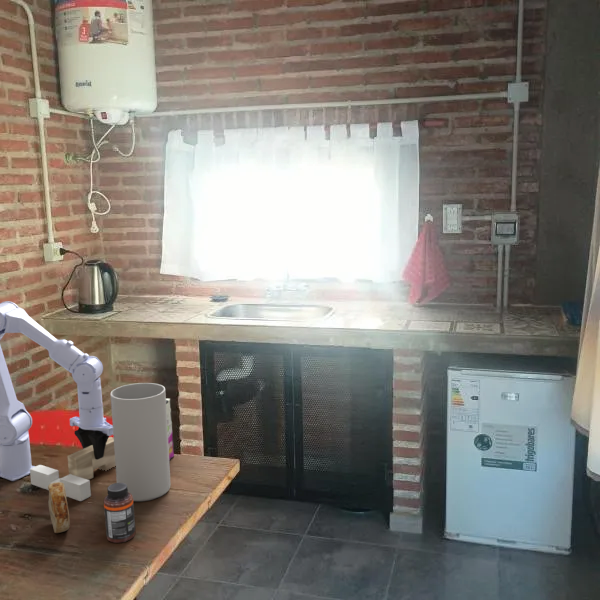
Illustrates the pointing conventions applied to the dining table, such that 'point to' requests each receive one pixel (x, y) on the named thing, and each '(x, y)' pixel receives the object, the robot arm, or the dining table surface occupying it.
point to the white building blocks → (73, 484)
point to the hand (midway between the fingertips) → (94, 456)
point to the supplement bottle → (119, 513)
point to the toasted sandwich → (58, 507)
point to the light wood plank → (91, 460)
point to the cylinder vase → (141, 439)
